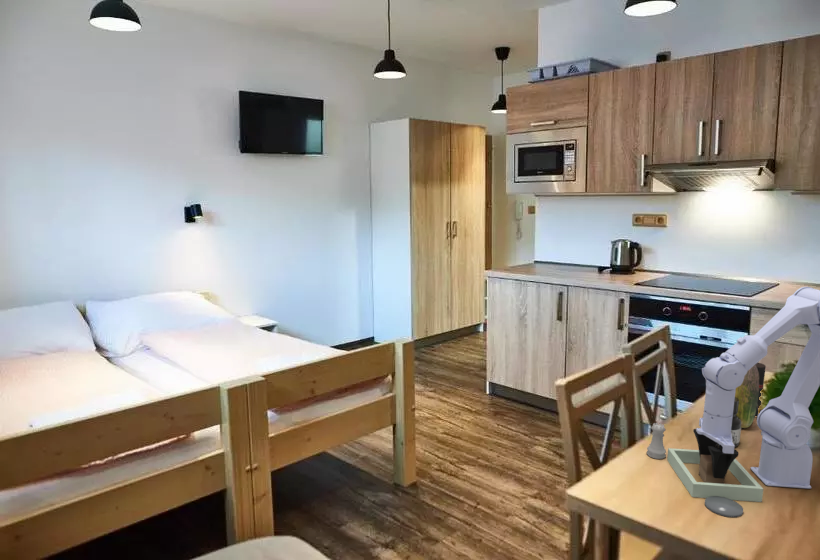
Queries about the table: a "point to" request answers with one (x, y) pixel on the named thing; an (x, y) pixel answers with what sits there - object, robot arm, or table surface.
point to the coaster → (723, 506)
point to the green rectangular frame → (703, 490)
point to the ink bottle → (735, 424)
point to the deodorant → (760, 382)
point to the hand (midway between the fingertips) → (711, 469)
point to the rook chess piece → (657, 442)
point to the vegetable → (748, 397)
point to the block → (708, 470)
